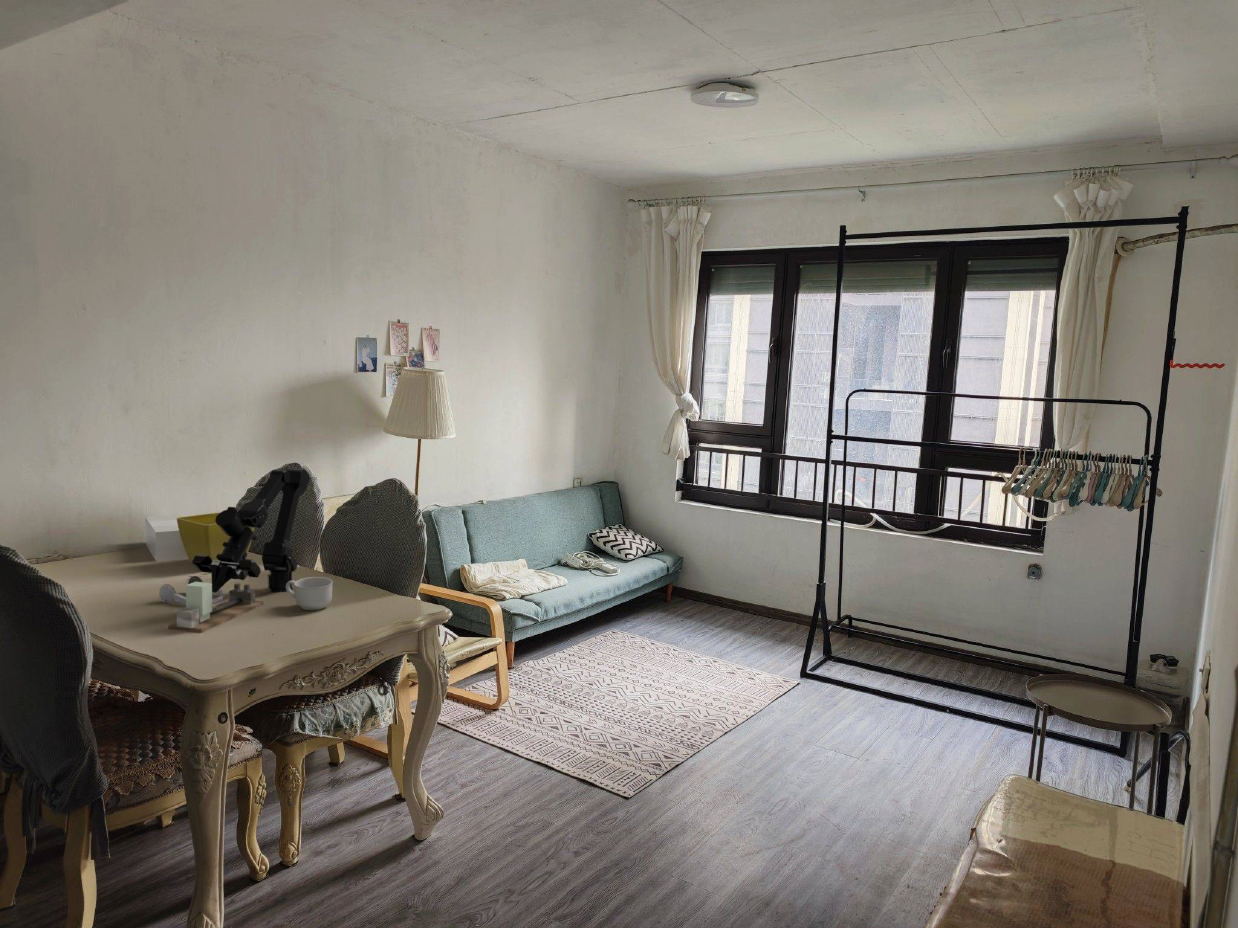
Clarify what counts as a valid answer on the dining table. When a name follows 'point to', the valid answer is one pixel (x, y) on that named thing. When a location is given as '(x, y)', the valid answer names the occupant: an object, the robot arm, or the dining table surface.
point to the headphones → (169, 595)
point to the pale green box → (200, 598)
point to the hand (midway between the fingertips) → (213, 591)
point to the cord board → (217, 611)
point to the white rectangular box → (164, 538)
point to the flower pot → (202, 535)
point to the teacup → (311, 592)
